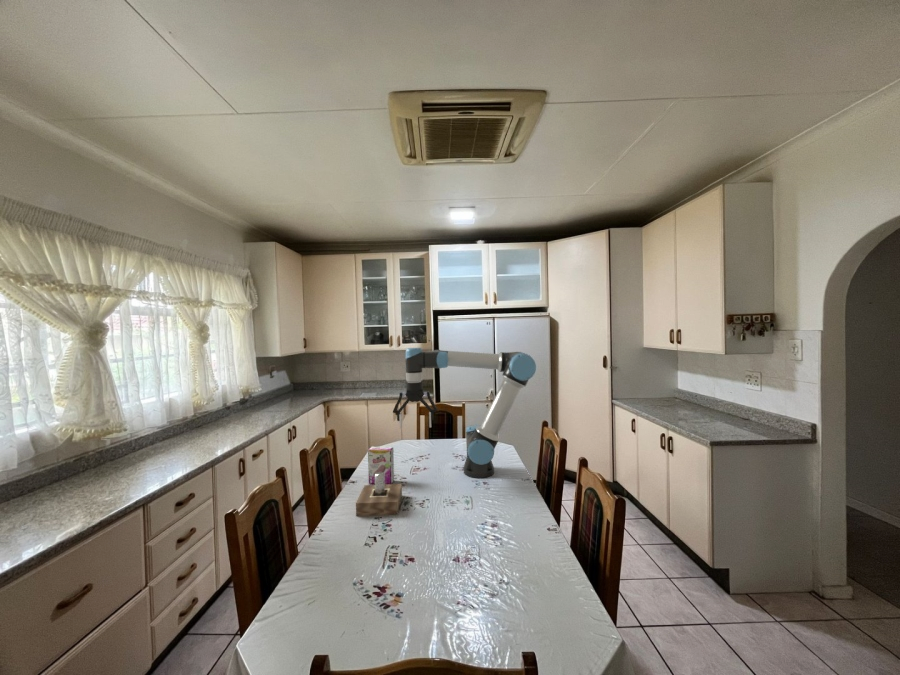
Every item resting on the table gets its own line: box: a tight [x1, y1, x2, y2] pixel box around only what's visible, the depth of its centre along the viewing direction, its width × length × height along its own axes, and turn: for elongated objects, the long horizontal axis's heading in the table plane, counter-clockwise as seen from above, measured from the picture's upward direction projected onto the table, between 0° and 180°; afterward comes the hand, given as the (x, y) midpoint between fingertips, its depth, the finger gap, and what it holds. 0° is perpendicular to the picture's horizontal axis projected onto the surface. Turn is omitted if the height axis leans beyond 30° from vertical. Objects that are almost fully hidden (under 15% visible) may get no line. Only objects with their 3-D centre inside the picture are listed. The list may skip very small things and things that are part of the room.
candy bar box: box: [367, 446, 395, 485], centre depth 167 cm, size 11×5×16 cm, turn 84°
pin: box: [374, 472, 385, 496], centre depth 145 cm, size 4×4×12 cm
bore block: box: [355, 483, 403, 517], centre depth 145 cm, size 16×16×5 cm
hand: (415, 427), depth 163 cm, fingers open, 13 cm apart
